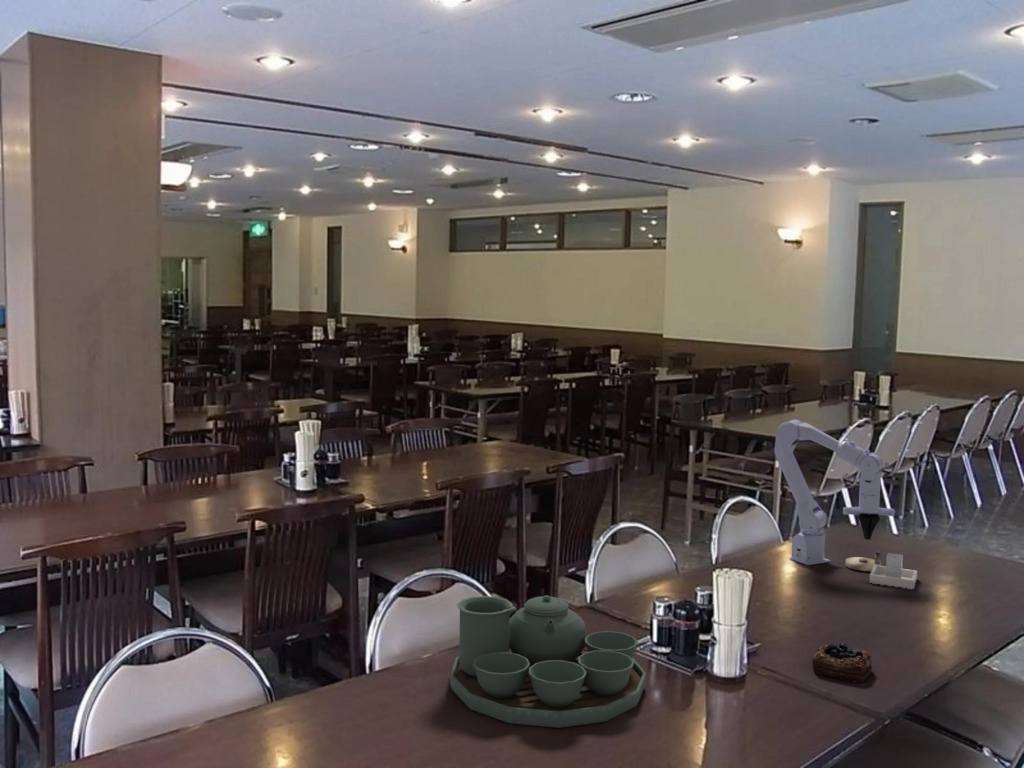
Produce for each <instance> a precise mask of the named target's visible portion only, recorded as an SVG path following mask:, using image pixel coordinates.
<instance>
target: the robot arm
mask: <svg viewBox="0 0 1024 768" xmlns="http://www.w3.org/2000/svg"><path fill="white" fill-rule="evenodd" d="M774 436H775V442H774V451H773V453H774V454H775V457H776V459H777V462H778V464H779V466H780V469H781V471H782V473H783V475H784V478H785V480H786V483H787V485H788V487H789V489H790V492H791V493H792V496H793V499H794V500H795V503H796V506H797V508H796V510H797V511H796V512H797V513H796V514H797V515H798V524H799V528H800V532H799V533H796V534H795V535H794V536H793V538H792V540H791V541H792V542H791V556H790V557H789V559H790V560H792V561H794V562H797V563H800V564H804V565H806V566H811V565H818V564H825V563H831V560H830V559H828V558H826V557H825V547H826V545H825V544H826V543H825V541H826V540H825V539H826V531H825V528H824V527H825V526H826V525H827V523H828V515H827V513H826V512H825V511H824V510H823V509H822V508H821V507H820V505H819V503H818V502H817V501H816V500H815V499H814V497H813V495H812V493H811V491H810V488H809V486H808V484H807V481H806V479H805V477H804V474H803V473H802V470H801V468H800V466H799V464H798V461H797V458H796V457H795V455H794V450H795V448H796V446H797V444H798V442H799V441H812V442H814V443H817V444H819V445H821V446H823V447H825V448H827V449H830V450H831V451H834V452H835V454H836V457H837V458H838V459H840V460H842V461H844V462H846V463H847V464H850V465H852V466H853V467H856V468H858V469H859V471H860V479H859V494H858V495H859V497H858V498H859V499H858V506H846V507H845V506H844V507H842V514H843V515H845V516H848V515H853V516H854V515H857V518H858V520H859V522H860V525H861V528H862V532H863V533H862V534H863V539H864V540H865V541H866V540H867V541H868V540H871V539H872V536H873V533H874V531H875V528H876V526H877V525H878V524H879V522H880V519H881V517H880V516H886V517H887V516H889V517H895V512H896V510H895V509H894V508H888V507H880V499H881V498H880V497H881V483H882V482H881V477H882V474H881V470H882V468H883V466H884V460H883V458H882V457H881V456H880V455H879V454H878V453H877V452H870V451H871V450H869V449H867V448H866V449H864V448H862V447H860V446H858V445H856V442H855V441H853V440H850V441H848V440H844V441H840V440H837V439H836V438H835V437H832V436H831V435H830V434H827V433H826V432H824V431H822V430H820V429H818V428H816V427H815V426H813V425H811V424H810V423H808V422H803V421H802V420H800V419H798V418H797V419H791V420H790V421H784V422H783V423H781V424H779V426H778V427H777V430H776V431H775V433H774Z"/></svg>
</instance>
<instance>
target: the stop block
mask: <svg viewBox="0 0 1024 768" xmlns="http://www.w3.org/2000/svg"><path fill="white" fill-rule="evenodd" d="M903 558H904V554H900V553H893V552H887V554H886V557H885V559H886V560H885V561H886V562H885V566H886V576H887V577H894V578H902V569H903V562H904V561H903V560H904V559H903Z"/></svg>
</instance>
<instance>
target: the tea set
mask: <svg viewBox="0 0 1024 768" xmlns="http://www.w3.org/2000/svg"><path fill="white" fill-rule="evenodd" d="M456 605H457V608H458V610H459V655H458V656H456V657H455V658H454V662H453V666H452V669H451V672H450V677H449V685H450V688H451V690H452V692H454V694H455V695H456V696H457V697H458V698H459V699H460V700H461V701H462V703H464V704H465V706H467V708H469V710H471V711H474V712H477V713H479V714H482V715H485V716H488V717H491V718H494V719H497V720H499V721H502V722H504V723H507V724H514V725H515V724H516V725H524V726H536V727H547V728H554V729H555V728H557V729H559V728H568V727H574V726H581V725H583V726H584V725H589V724H590V725H591V724H595V723H597V724H598V723H604V722H608V721H610V720H612V719H614V718H616V717H617V716H619V715H621V714H623V713H624V714H625V712H628V711H630V710H632V709H633V708H636V707H637V705H638V703H639V702H640V699H641V697H642V693H643V692H644V688H645V686H646V683H647V672H646V671H645V670H644V669H643V668H642V667H641V666H640V664H639V663H638V661H636V659H635V658H634V654H635V651H636V648H637V646H638V643H639V641H638V640H637V639H636V638H635V637H634V636H632V635H630V634H627V633H625V632H618V631H614V630H613V631H610V630H609V631H597V632H593V633H590V634H588V635H587V636H586V623H585V622H584V620H583V618H582V617H581V616H579V614H578V613H577V612H575V611H573V610H572V609H570V608H569V603H568V602H566V601H565V600H563V599H562V598H560V597H559V598H558V597H555V596H549V595H543V596H535V597H532V598H530V599H527V601H526V602H524V604H523V606H524V607H521V608H519V609H518V610H517V608H516V607H515V606H514V605H513V602H511V601H510V600H509V599H507V598H502V597H498V596H492V595H491V596H490V595H479V596H471V597H467V598H463V599H461V600H460V601H458V602H457V604H456ZM515 611H516V612H515ZM514 612H515V613H514ZM512 614H513V615H512ZM511 615H512V616H511Z"/></svg>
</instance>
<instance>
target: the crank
mask: <svg viewBox="0 0 1024 768" xmlns="http://www.w3.org/2000/svg"><path fill="white" fill-rule="evenodd" d="M881 552H882V551H881V550H880V549H876V550H875V552H874V559H873V558H870V557H862V556H860V557H859V556H854V557H853V556H852V557H847V558H846V559H845V563H844V564H845V566H846V567H847V568H848V569H851V570H855V571H862V572H871V571H872V569H873V567H874V565H879V566H882V563H881V555H882V554H881Z"/></svg>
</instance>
